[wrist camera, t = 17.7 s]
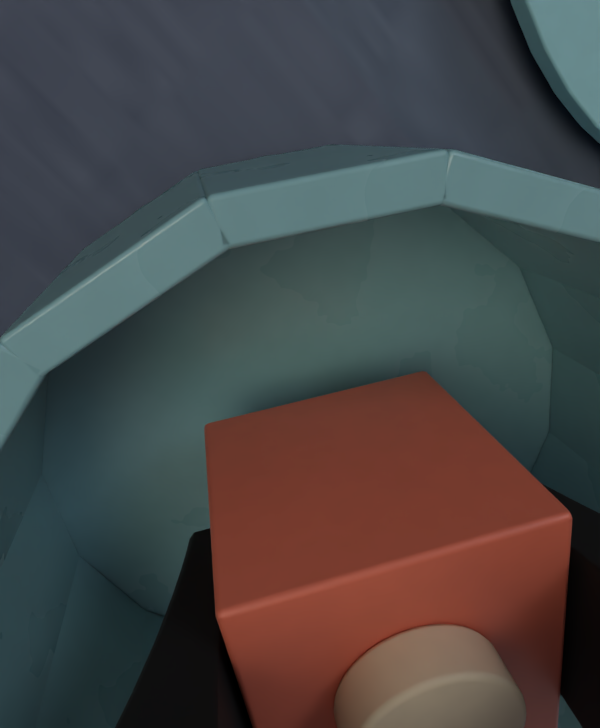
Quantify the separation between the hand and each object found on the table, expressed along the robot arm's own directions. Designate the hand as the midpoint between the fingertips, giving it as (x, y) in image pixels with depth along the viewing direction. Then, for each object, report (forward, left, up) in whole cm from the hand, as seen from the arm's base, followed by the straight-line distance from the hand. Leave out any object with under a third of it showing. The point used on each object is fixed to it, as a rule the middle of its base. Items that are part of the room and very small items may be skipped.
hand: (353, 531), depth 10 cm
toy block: (0, 0, -1) cm, 1 cm away
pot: (0, 0, -3) cm, 3 cm away
